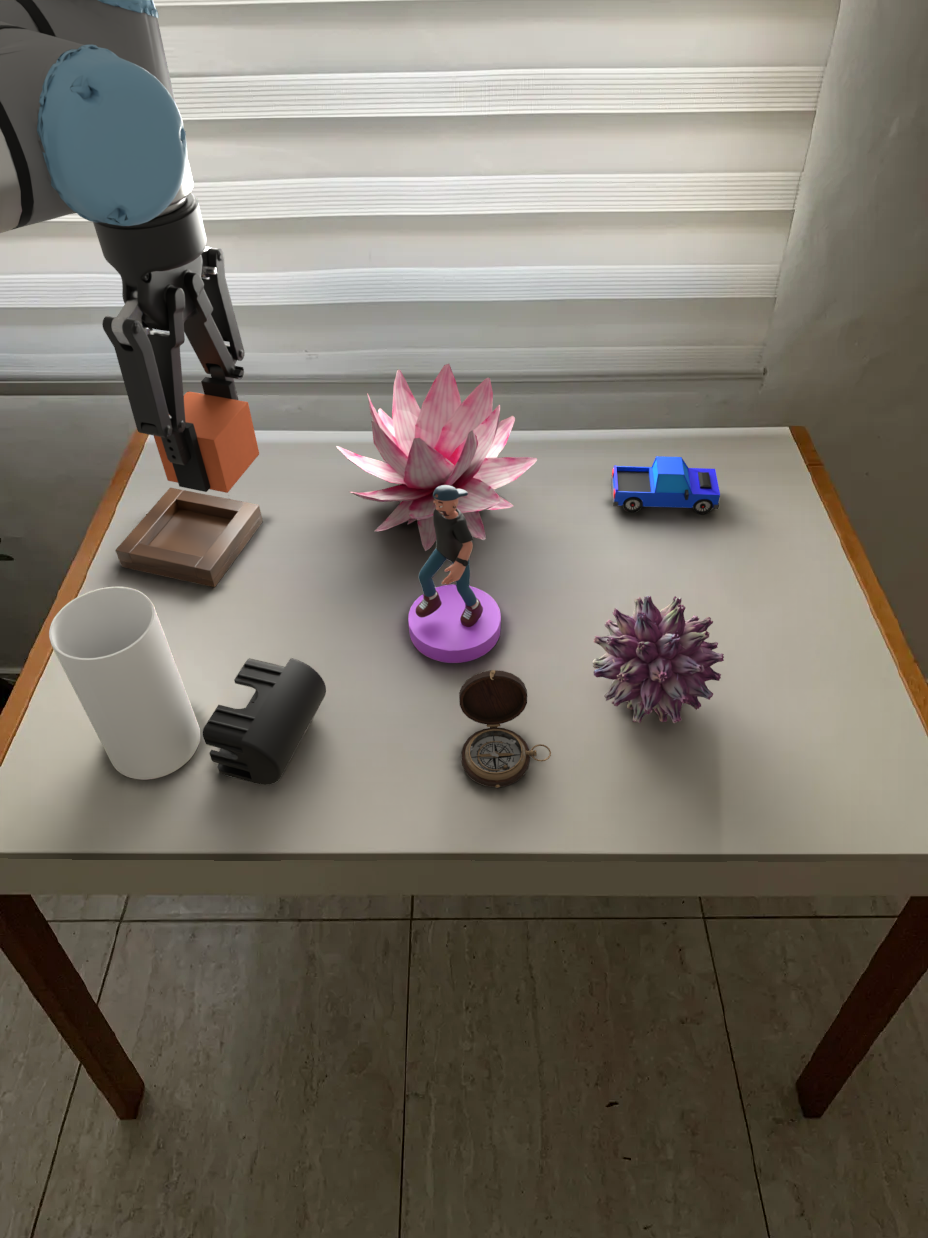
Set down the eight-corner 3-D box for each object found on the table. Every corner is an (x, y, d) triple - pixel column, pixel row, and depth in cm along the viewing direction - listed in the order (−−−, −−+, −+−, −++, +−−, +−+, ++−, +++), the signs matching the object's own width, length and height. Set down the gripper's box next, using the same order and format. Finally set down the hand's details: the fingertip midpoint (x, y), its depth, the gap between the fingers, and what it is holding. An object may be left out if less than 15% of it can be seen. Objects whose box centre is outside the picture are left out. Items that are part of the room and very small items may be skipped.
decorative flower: (403, 440, 117) (394, 331, 106) (558, 483, 110) (565, 371, 99) (311, 539, 103) (290, 426, 93) (480, 595, 96) (479, 480, 86)
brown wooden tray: (214, 587, 98) (209, 570, 96) (121, 567, 101) (114, 550, 99) (263, 521, 106) (259, 504, 104) (175, 503, 108) (170, 487, 107)
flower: (689, 767, 83) (564, 725, 83) (702, 667, 90) (588, 629, 91) (741, 697, 74) (600, 651, 74) (750, 592, 81) (623, 551, 82)
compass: (462, 792, 79) (461, 741, 74) (459, 720, 85) (458, 668, 80) (554, 788, 79) (558, 737, 74) (545, 716, 85) (549, 664, 80)
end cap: (286, 797, 79) (273, 751, 75) (214, 777, 81) (196, 731, 76) (331, 710, 86) (322, 663, 81) (264, 694, 88) (250, 646, 83)
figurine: (391, 624, 94) (375, 484, 81) (461, 584, 98) (457, 444, 85) (447, 677, 89) (440, 536, 76) (519, 632, 93) (524, 491, 80)
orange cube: (227, 493, 79) (213, 440, 75) (167, 480, 80) (150, 428, 76) (259, 453, 83) (248, 401, 79) (201, 442, 84) (187, 390, 80)
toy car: (717, 519, 104) (725, 485, 101) (612, 516, 105) (616, 481, 102) (711, 484, 109) (718, 449, 105) (610, 481, 110) (614, 447, 106)
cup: (213, 713, 86) (171, 591, 75) (179, 785, 80) (128, 666, 69) (132, 702, 87) (78, 581, 76) (93, 773, 82) (28, 653, 70)
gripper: (111, 262, 58) (196, 539, 74) (252, 156, 70) (298, 414, 87) (13, 248, 59) (118, 522, 76) (167, 147, 72) (228, 401, 88)
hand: (214, 464), depth 81 cm, fingers closed on orange cube, 6 cm apart
